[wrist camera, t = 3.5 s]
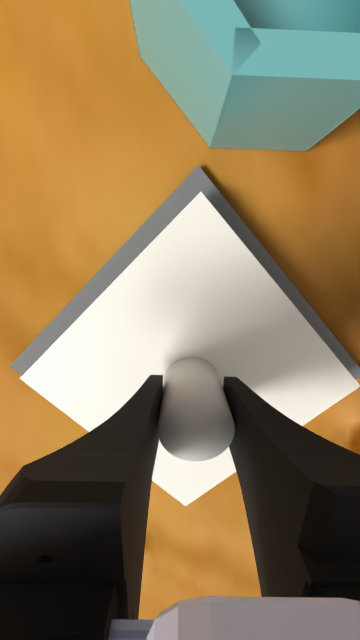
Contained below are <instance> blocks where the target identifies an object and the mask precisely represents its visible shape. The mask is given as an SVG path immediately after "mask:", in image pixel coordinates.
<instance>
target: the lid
mask: <svg viewBox="0 0 360 640" xmlns="http://www.w3.org/2000/svg"><path fill="white" fill-rule="evenodd" d="M150 375H163V392H162V400H161V407H160V416H159V424H158V436H159V444H158V449H157V454H156V459H155V465H154V470H153V475H152V481H154V482H155V483H156V484H157V485H159V486H160V487H161V488H163V489H164V490H165V491H166V492H168V493H169V494H170V495H172V496H173V497H174V498H176V499H177V500H178V501H179V502H181V503H182V504H183V505H185V506H187V505H188V504H189V503H191V502H192V501H194V500H195V499H197V498H198V497H200V496H201V495H203V494H204V493H205V492H207V491H208V490H210V489H211V488H213V487H214V486H216V485H217V484H219V483H220V482H221V481H223V480H224V479H226V478H227V477H229V476H230V475H232V474H233V473H235V472H236V468H235V465H234V462H233V458H232V455H231V452H230V449H229V445H230V444H231V442H232V440H233V437H234V433H235V425H234V421H233V418H232V415H231V411H230V408H229V405H228V402H227V399H226V396H225V393H224V390H223V382H224V376H227V377H237V378H239V379H240V380H241V381H242V382H243V383H245V384H246V385H247V386H248V387H249V388H250V389H251V390H253V391H254V392H255V393H256V394H257V395H259V396H260V397H261V398H262V399H264V400H265V401H266V402H267V403H269V404H270V405H271V406H273V407H274V408H275V409H277V410H278V411H279V412H281V413H282V414H284V415H285V416H287V417H288V418H290V419H291V420H293V421H295V422H296V423H298V424H299V425H301V426H303V425H304V424H306V423H307V422H309V421H310V420H312V419H313V418H315V417H316V416H318V415H319V414H320V413H322V412H323V411H325V410H326V409H328V408H329V407H331V406H332V405H334V404H335V403H336V402H338V401H339V400H341V399H342V398H344V397H345V396H347V395H348V394H350V393H351V392H352V391H354V390H355V389H357V388H358V387H360V385H359V384H358V383H357V381H356V380H355V379H354V378H353V376H352V375H351V374H350V373H349V372H348V370H347V369H346V368H345V367H344V365H343V364H342V363H341V362H340V361H339V359H338V358H337V357H336V356H335V355H334V353H333V352H332V351H331V350H330V348H329V347H328V346H327V345H326V344H325V342H324V341H323V340H322V339H321V337H320V336H319V335H318V334H317V333H316V331H315V330H314V329H313V328H312V326H311V325H310V324H309V323H308V322H307V320H306V319H305V318H304V317H303V315H302V314H301V313H300V312H299V311H298V309H297V308H296V307H295V306H294V304H293V303H292V302H291V301H290V300H289V298H288V297H287V296H286V295H285V293H284V292H283V291H282V290H281V289H280V287H279V286H278V285H277V284H276V282H275V281H274V280H273V279H272V278H271V276H270V275H269V274H268V273H267V271H266V270H265V269H264V268H263V267H262V265H261V264H260V263H259V262H258V260H257V259H256V258H255V257H254V256H253V254H252V253H251V252H250V251H249V249H248V248H247V247H246V246H245V245H244V243H243V242H242V241H241V240H240V238H239V237H238V236H237V235H236V234H235V232H234V231H233V230H232V229H231V227H230V226H229V225H228V224H227V223H226V221H225V220H224V219H223V218H222V216H221V215H220V214H219V213H218V212H217V210H216V209H215V208H214V207H213V205H212V204H211V203H210V202H209V201H208V199H207V198H206V197H205V196H204V194H203V193H202V192H200V193H199V194H198V195H197V196H196V197H195V198H194V199H193V200H192V201H191V202H190V203H189V204H188V205H187V206H186V207H185V208H184V209H183V210H182V211H181V212H180V213H179V214H178V215H177V216H176V217H175V218H174V219H173V220H172V222H171V223H170V224H169V225H168V226H167V227H166V228H165V229H164V230H163V231H162V232H161V233H160V234H159V235H158V236H157V237H156V238H155V239H154V240H153V241H152V242H151V243H150V244H149V245H148V246H147V247H146V248H145V249H144V250H143V251H142V252H141V254H140V255H139V256H138V257H137V258H136V259H135V260H134V261H133V262H132V263H131V264H130V265H129V266H128V267H127V268H126V269H125V270H124V271H123V272H122V273H121V274H120V275H119V276H118V277H117V278H116V279H115V280H114V281H113V282H112V283H111V285H110V286H109V287H108V288H107V289H106V290H105V291H104V292H103V293H102V294H101V295H100V296H99V297H98V298H97V299H96V300H95V301H94V302H93V303H92V304H91V305H90V306H89V307H88V308H87V309H86V310H85V311H84V312H83V313H82V314H81V315H80V317H79V318H78V319H77V320H76V321H75V322H74V323H73V324H72V325H71V326H70V327H69V328H68V329H67V330H66V331H65V332H64V333H63V334H62V335H61V336H60V337H59V338H58V339H57V340H56V341H55V342H54V343H53V344H52V345H51V346H50V348H49V349H48V350H47V351H46V352H45V353H44V354H43V355H42V356H41V357H40V358H39V359H38V360H37V361H36V362H35V363H34V364H33V365H32V366H31V367H30V368H29V369H28V370H27V371H26V372H25V373H24V374H23V375H22V376H21V377H20V379H21V380H22V381H24V382H25V383H26V384H28V385H29V386H30V387H31V388H33V389H34V390H35V391H37V392H38V393H39V394H41V395H42V396H43V397H44V398H46V399H47V400H48V401H50V402H51V403H52V404H53V405H55V406H56V407H57V408H59V409H60V410H61V411H63V412H64V413H65V414H66V415H68V416H69V417H70V418H72V419H73V420H74V421H76V422H77V423H78V424H79V425H81V426H82V427H83V428H85V429H86V430H87V431H89V432H90V431H92V430H93V429H94V428H96V427H97V426H99V425H100V424H102V423H103V422H105V421H106V420H107V419H109V418H110V417H111V416H112V415H113V414H115V413H116V412H117V411H118V410H119V409H120V408H121V407H122V406H123V405H124V404H125V403H126V402H127V401H128V400H129V399H130V398H131V397H132V396H133V395H134V394H135V393H136V392H137V391H138V389H139V388H140V387H141V386H142V385H143V383H144V382H145V381H146V379H147V378H148V377H149V376H150Z"/></svg>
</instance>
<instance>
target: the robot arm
mask: <svg viewBox="0 0 360 640" xmlns="http://www.w3.org/2000/svg"><path fill="white" fill-rule="evenodd" d="M223 390H224V393H225V396H226V399H227V402H228V405H229V408H230V411H231V415H232V418H233V421H234V425H235V433H234V437H233V440H232V442H231V444H230V445H229V449H230V452H231V455H232V458H233V462H234V465H235V468H236V471H237V475H238V478H239V482H240V486H241V490H242V494H243V499H244V504H245V509H246V513H247V518H248V524H249V529H250V534H251V539H252V544H253V549H254V555H255V560H256V566H257V571H258V577H259V582H260V588H261V594H262V597H219V596H208V597H201V598H195V599H188V600H181V601H179V602H178V603H176V604H174V605H172V606H171V607H169V608H167V609H165V610H164V611H162V612H160V614H159V615H158V616H157V618H156V619H155V620H138V614H139V603H140V591H141V580H142V570H143V559H144V548H145V538H146V528H147V518H148V508H149V498H150V489H151V482H152V475H153V470H154V465H155V459H156V454H157V449H158V444H159V436H158V424H159V416H160V407H161V400H162V392H163V375H150V376H149V377H148V378H147V379H146V381H145V382H144V383H143V385H142V386H141V387H140V388H139V389H138V391H137V392H136V393H135V394H134V395H133V396H132V397H131V398H130V399H129V400H128V401H127V402H126V403H125V404H124V405H123V406H122V407H121V408H120V409H119V410H118V411H117V412H116V413H115V414H113V415H112V416H111V417H110V418H109V419H107V420H106V421H105V422H103V423H102V424H100V425H99V426H97V427H96V428H94V429H93V430H92V431H90V432H89V433H87V434H86V435H84V436H82V437H81V438H79V439H77V440H76V441H74V442H72V443H70V444H68V445H67V446H65V447H63V448H61V449H59V450H57V451H55V452H53V453H51V454H49V455H47V456H44V457H42V458H40V459H38V460H36V461H34V462H32V463H29V464H27V465H25V466H23V467H22V468H21V469H20V471H19V472H18V473H17V474H16V475H15V477H14V478H13V479H12V480H11V482H10V483H9V484H8V486H7V487H6V488H5V490H4V491H3V492H2V494H1V495H0V640H360V455H359V454H357V453H354V452H352V451H350V450H348V449H345V448H343V447H341V446H339V445H337V444H335V443H333V442H330V441H328V440H327V439H325V438H323V437H321V436H319V435H317V434H315V433H313V432H311V431H310V430H308V429H306V428H304V427H303V426H301V425H299V424H298V423H296V422H295V421H293V420H291V419H290V418H288V417H287V416H285V415H284V414H282V413H281V412H279V411H278V410H277V409H275V408H274V407H273V406H271V405H270V404H269V403H267V402H266V401H265V400H264V399H262V398H261V397H260V396H259V395H257V394H256V393H255V392H254V391H253V390H251V389H250V388H249V387H248V386H247V385H246V384H245V383H243V382H242V381H241V380H240V379H239V378H237V377H227V376H224V382H223Z"/></svg>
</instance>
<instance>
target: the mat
mask: <svg viewBox="0 0 360 640" xmlns="http://www.w3.org/2000/svg"><path fill="white" fill-rule="evenodd" d="M200 192H202V193H203V194H204V196H205V197H206V198H207V199H208V201H209V202H210V203H211V204H212V205H213V207H214V208H215V209H216V210H217V212H218V213H219V214H220V215H221V216H222V218H223V219H224V220H225V221H226V223H227V224H228V225H229V226H230V227H231V229H232V230H233V231H234V232H235V234H236V235H237V236H238V237H239V238H240V240H241V241H242V242H243V243H244V245H245V246H246V247H247V248H248V249H249V251H250V252H251V253H252V254H253V256H254V257H255V258H256V259H257V260H258V262H259V263H260V264H261V265H262V267H263V268H264V269H265V270H266V271H267V273H268V274H269V275H270V276H271V278H272V279H273V280H274V281H275V282H276V284H277V285H278V286H279V287H280V289H281V290H282V291H283V292H284V293H285V295H286V296H287V297H288V298H289V300H290V301H291V302H292V303H293V304H294V306H295V307H296V308H297V309H298V311H299V312H300V313H301V314H302V315H303V317H304V318H305V319H306V320H307V322H308V323H309V324H310V325H311V326H312V328H313V329H314V330H315V331H316V333H317V334H318V335H319V336H320V337H321V339H322V340H323V341H324V342H325V344H326V345H327V346H328V347H329V348H330V350H331V351H332V352H333V353H334V355H335V356H336V357H337V358H338V359H339V361H340V362H341V363H342V364H343V365H344V367H345V368H346V369H347V370H348V372H349V373H350V374H351V375H352V376H353V378H354V379H355V380H356V379H358V378H359V377H360V367H359V366H358V365H357V364H356V362H355V361H354V360H353V359H352V357H351V356H350V355H349V354H348V352H347V351H346V350H345V349H344V347H343V346H342V345H341V343H340V342H339V341H338V340H337V338H336V337H335V336H334V335H333V333H332V332H331V331H330V330H329V328H328V327H327V326H326V325H325V323H324V322H323V321H322V320H321V318H320V317H319V316H318V315H317V313H316V312H315V311H314V310H313V308H312V307H311V306H310V305H309V303H308V302H307V301H306V300H305V298H304V297H303V296H302V295H301V293H300V292H299V291H298V290H297V288H296V287H295V286H294V285H293V283H292V282H291V281H290V280H289V278H288V277H287V276H286V274H285V273H284V272H283V271H282V269H281V268H280V267H279V266H278V264H277V263H276V262H275V261H274V259H273V258H272V257H271V256H270V254H269V253H268V252H267V251H266V249H265V248H264V247H263V246H262V244H261V243H260V242H259V241H258V239H257V238H256V237H255V236H254V234H253V233H252V232H251V231H250V229H249V228H248V227H247V226H246V224H245V223H244V222H243V221H242V219H241V218H240V217H239V216H238V214H237V213H236V212H235V211H234V209H233V208H232V207H231V206H230V204H229V203H228V202H227V200H226V199H225V198H224V197H223V195H222V194H221V193H220V192H219V190H218V189H217V188H216V187H215V185H214V184H213V183H212V182H211V180H210V179H209V178H208V177H207V175H206V174H205V173H204V172H203V170H202V169H201V168H200V167H199V165H198V166H197V167H196V168H195V169H194V171H193V172H192V173H191V174H190V175H189V176H188V177H187V178H186V179H185V180H184V181H183V182H182V183H181V184H180V185H179V187H178V188H177V189H176V190H175V191H174V192H173V193H172V194H171V195H170V196H169V197H168V198H167V199H166V200H165V201H164V202H163V204H162V205H161V206H160V207H159V208H158V209H157V210H156V211H155V212H154V213H153V214H152V215H151V216H150V217H149V218H148V220H147V221H146V222H145V223H144V224H143V225H142V226H141V227H140V228H139V229H138V230H137V231H136V232H135V233H134V234H133V235H132V237H131V238H130V239H129V240H128V241H127V242H126V243H125V244H124V245H123V246H122V247H121V248H120V249H119V250H118V251H117V252H116V254H115V255H114V256H113V257H112V258H111V259H110V260H109V261H108V262H107V263H106V264H105V265H104V266H103V267H102V268H101V270H100V271H99V272H98V273H97V274H96V275H95V276H94V277H93V278H92V279H91V280H90V281H89V282H88V283H87V284H86V285H85V287H84V288H83V289H82V290H81V291H80V292H79V293H78V294H77V295H76V296H75V297H74V298H73V299H72V300H71V301H70V302H69V304H68V305H67V306H66V307H65V308H64V309H63V310H62V311H61V312H60V313H59V314H58V315H57V316H56V317H55V318H54V320H53V321H52V322H51V323H50V324H49V325H48V326H47V327H46V328H45V329H44V330H43V331H42V332H41V333H40V334H39V335H38V337H37V338H36V339H35V340H34V341H33V342H32V343H31V344H30V345H29V346H28V347H27V348H26V349H25V350H24V351H23V353H22V354H21V355H20V356H19V357H18V358H17V359H16V360H15V361H14V362H13V363H12V364H11V365H10V367H12V368H13V369H14V370H15V371H17V372H18V373H19V374H21V375H23V374H24V373H25V372H26V371H27V370H28V369H29V368H30V367H31V366H32V365H33V364H34V363H35V362H36V361H37V360H38V359H39V358H40V357H41V356H42V355H43V354H44V353H45V352H46V351H47V350H48V349H49V348H50V346H51V345H52V344H53V343H54V342H55V341H56V340H57V339H58V338H59V337H60V336H61V335H62V334H63V333H64V332H65V331H66V330H67V329H68V328H69V327H70V326H71V325H72V324H73V323H74V322H75V321H76V320H77V319H78V318H79V317H80V315H81V314H82V313H83V312H84V311H85V310H86V309H87V308H88V307H89V306H90V305H91V304H92V303H93V302H94V301H95V300H96V299H97V298H98V297H99V296H100V295H101V294H102V293H103V292H104V291H105V290H106V289H107V288H108V287H109V286H110V285H111V283H112V282H113V281H114V280H115V279H116V278H117V277H118V276H119V275H120V274H121V273H122V272H123V271H124V270H125V269H126V268H127V267H128V266H129V265H130V264H131V263H132V262H133V261H134V260H135V259H136V258H137V257H138V256H139V255H140V254H141V252H142V251H143V250H144V249H145V248H146V247H147V246H148V245H149V244H150V243H151V242H152V241H153V240H154V239H155V238H156V237H157V236H158V235H159V234H160V233H161V232H162V231H163V230H164V229H165V228H166V227H167V226H168V225H169V224H170V223H171V222H172V220H173V219H174V218H175V217H176V216H177V215H178V214H179V213H180V212H181V211H182V210H183V209H184V208H185V207H186V206H187V205H188V204H189V203H190V202H191V201H192V200H193V199H194V198H195V197H196V196H197V195H198V194H199V193H200Z"/></svg>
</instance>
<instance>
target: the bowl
mask: <svg viewBox="0 0 360 640" xmlns="http://www.w3.org/2000/svg"><path fill="white" fill-rule="evenodd" d="M129 2H130V7H131V12H132V17H133V23H134V28H135V33H136V38H137V43H138V49H139V54H140V58H142V60H143V61H144V62H145V64H146V65H147V66H148V67H149V69H150V70H151V71H152V73H153V74H154V75H155V77H156V78H157V79H158V80H159V82H160V83H161V84H162V86H163V87H164V88H165V90H166V91H167V92H168V93H169V95H170V96H171V97H172V99H173V100H174V101H175V103H176V104H177V105H178V106H179V108H180V109H181V110H182V112H183V113H184V114H185V116H186V117H187V118H188V119H189V121H190V122H191V123H192V125H193V126H194V127H195V129H196V130H197V131H198V132H199V134H200V135H201V136H202V138H203V139H204V140H205V142H206V143H207V144H208V145H209V147H210V148H229V149H256V150H283V151H308V150H309V149H310V148H311V147H313V146H314V145H315V144H316V143H318V142H319V141H320V140H321V139H323V138H324V137H325V136H326V135H328V134H329V133H330V132H331V131H333V130H334V129H335V128H336V127H338V126H339V125H340V124H341V123H343V122H344V121H345V120H346V119H348V118H349V117H350V116H351V115H353V114H354V113H355V112H356V111H357V110H359V109H360V0H129Z"/></svg>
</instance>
